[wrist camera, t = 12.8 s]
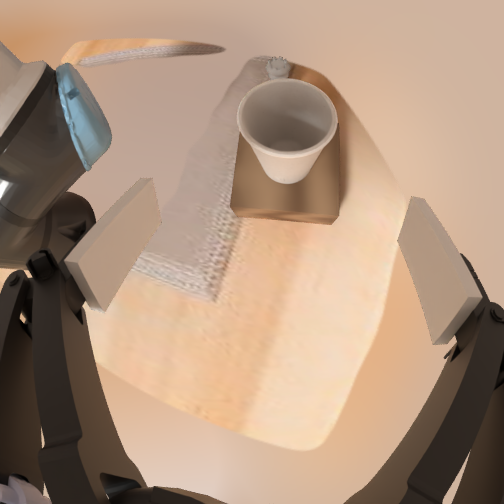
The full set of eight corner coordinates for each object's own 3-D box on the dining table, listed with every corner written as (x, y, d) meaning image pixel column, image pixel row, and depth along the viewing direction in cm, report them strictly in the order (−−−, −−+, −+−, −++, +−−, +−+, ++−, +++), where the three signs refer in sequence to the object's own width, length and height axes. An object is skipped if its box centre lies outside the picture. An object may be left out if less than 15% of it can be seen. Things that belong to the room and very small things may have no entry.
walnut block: (237, 216, 35) (229, 206, 30) (247, 135, 36) (242, 116, 31) (331, 224, 34) (338, 216, 29) (332, 141, 35) (338, 123, 30)
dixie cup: (305, 207, 29) (316, 173, 19) (237, 177, 30) (218, 134, 20) (333, 147, 30) (350, 97, 20) (269, 121, 31) (263, 67, 21)
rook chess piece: (289, 84, 36) (289, 50, 29) (298, 105, 36) (299, 70, 28) (261, 89, 37) (257, 55, 29) (268, 110, 36) (264, 76, 28)
